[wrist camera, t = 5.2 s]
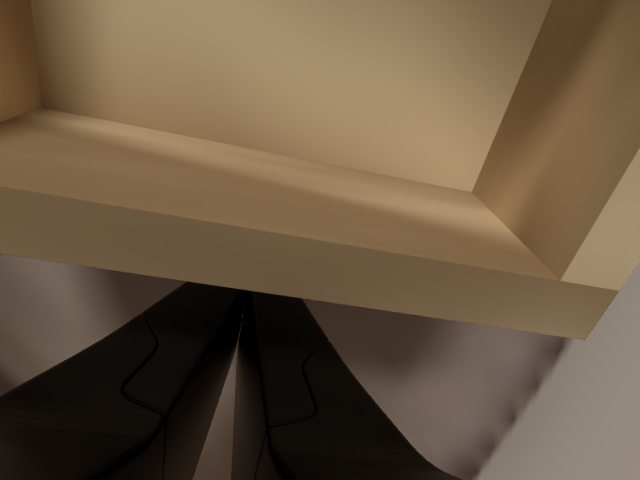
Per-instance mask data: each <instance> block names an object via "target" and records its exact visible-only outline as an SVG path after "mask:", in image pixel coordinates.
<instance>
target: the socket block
mask: <svg viewBox="0 0 640 480" xmlns="http://www.w3.org/2000/svg"><path fill="white" fill-rule="evenodd" d="M0 254H6V255H13V256H19V257H26V258H33V259H40V260H46V261H53V262H60V263H67V264H74V265H80V266H87V267H94V268H101V269H107V270H114V271H121V272H128V273H134V274H141V275H148V276H155V277H161V278H168V279H175V280H182V281H189V282H195V283H202V284H209V285H216V286H222V287H229V288H236V289H243V290H249V291H256V292H263V293H270V294H276V295H283V296H290V297H297V298H304V299H310V300H317V301H324V302H331V303H337V304H344V305H351V306H358V307H364V308H371V309H378V310H385V311H391V312H398V313H405V314H412V315H419V316H425V317H432V318H439V319H446V320H452V321H459V322H466V323H473V324H479V325H486V326H493V327H500V328H506V329H513V330H520V331H527V332H534V333H540V334H547V335H554V336H561V337H567V338H574V339H582V340H586V338H587V337H588V335H589V334H590V332H591V331H592V330H593V328H594V327H595V325H596V324H597V322H598V321H599V319H600V318H601V316H602V315H603V314H604V312H605V311H606V309H607V308H608V306H609V305H610V304H611V302H612V301H613V299H614V298H615V296H616V295H617V293H618V292H619V290H620V289H621V288H622V286H623V285H624V283H625V282H626V280H627V279H628V277H629V276H630V275H631V273H632V272H633V270H634V269H635V267H636V266H637V265H638V263H639V262H640V0H0Z"/></svg>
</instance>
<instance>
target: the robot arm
mask: <svg viewBox="0 0 640 480" xmlns="http://www.w3.org/2000/svg"><path fill="white" fill-rule="evenodd" d="M245 300H246V301H245ZM243 311H244V312H243ZM242 316H243V318H242ZM241 321H242V324H241ZM240 327H241V330H240ZM239 332H240V336H239ZM238 337H239V342H238ZM237 342H238V350H237V366H236V388H235V409H234V430H233V452H232V473H231V480H462V479H460V478H457V477H455V476H452V475H450V474H448V473H446V472H444V471H442V470H440V469H439V468H437V467H435V466H434V465H433V464H431V463H430V462H429V461H427V460H426V459H425V458H424V457H423V456H422V455H421V454H420V453H418V452H417V450H416V449H415V448H414V447H413V446H412V445H411V444H410V443H409V442H408V440H407V439H406V438H405V437H404V436H403V435H402V433H401V432H400V431H399V430H398V429H397V427H396V426H395V425H394V424H393V423H392V421H391V420H390V419H389V418H388V417H387V415H386V414H385V413H384V412H383V411H382V410H381V408H380V407H379V406H378V405H377V404H376V402H375V401H374V400H373V399H372V398H371V396H370V395H369V394H368V393H367V392H366V390H365V389H364V388H363V387H362V385H361V384H360V383H359V382H358V380H357V379H356V378H355V377H354V375H353V374H352V373H351V372H350V370H349V369H348V367H347V366H346V364H345V363H344V362H343V360H342V359H341V357H340V356H339V354H338V353H337V351H336V350H335V348H334V347H333V345H332V344H331V342H329V340H328V338H327V336H326V335H325V333H324V332H323V330H322V329H321V327H320V326H319V324H318V323H317V321H316V320H315V318H314V316H313V315H312V313H311V312H310V310H309V309H308V307H307V306H306V304H305V303H304V301H303V300H302V298H297V297H290V296H283V295H276V294H270V293H263V292H256V291H249V290H243V289H236V288H229V287H222V286H216V285H209V284H202V283H195V282H189V281H187V282H186V283H184V284H183V285H181V286H180V287H178V288H177V289H176V290H174V291H173V292H171V293H170V294H168V295H167V296H165V297H164V298H163V299H161V300H160V301H158V302H157V303H155V304H154V305H152V306H151V307H150V308H148V309H147V310H145V311H144V312H142V314H141V315H138V316H136V317H135V318H133V319H132V320H131V321H129V322H128V323H126V324H125V325H123V326H122V327H120V328H119V329H117V330H115V331H114V332H112V333H111V334H109V335H108V336H106V337H105V338H103V339H102V340H100V341H98V342H96V343H95V344H93V345H91V346H89V347H88V348H86V349H84V350H83V351H81V352H79V353H77V354H76V355H74V356H72V357H70V358H68V359H67V360H65V361H63V362H61V363H59V364H57V365H56V366H54V367H52V368H50V369H48V370H47V371H45V372H43V373H41V374H39V375H37V376H36V377H34V378H32V379H30V380H28V381H27V382H25V383H23V384H21V385H19V386H17V387H16V388H14V389H12V390H10V391H8V392H7V393H5V394H3V395H1V396H0V480H192V479H193V476H194V473H195V470H196V467H197V464H198V461H199V458H200V455H201V452H202V449H203V446H204V443H205V440H206V437H207V434H208V431H209V428H210V425H211V422H212V419H213V416H214V413H215V410H216V407H217V404H218V401H219V398H220V395H221V392H222V389H223V386H224V383H225V380H226V377H227V374H228V371H229V368H230V365H231V362H232V359H233V356H234V353H235V350H236V346H237Z"/></svg>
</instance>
